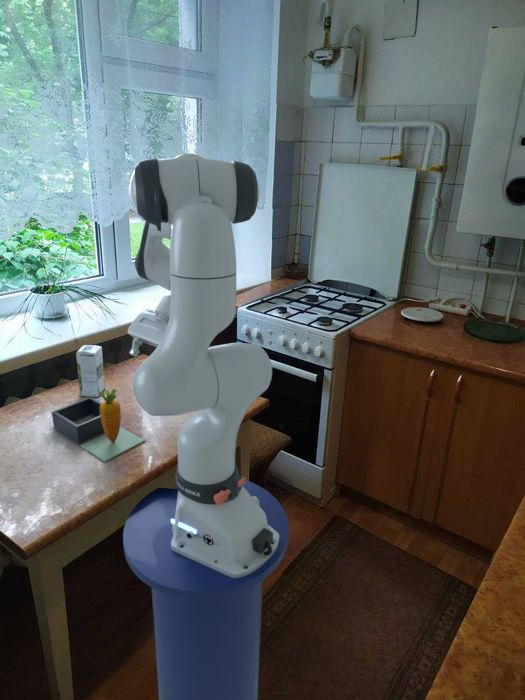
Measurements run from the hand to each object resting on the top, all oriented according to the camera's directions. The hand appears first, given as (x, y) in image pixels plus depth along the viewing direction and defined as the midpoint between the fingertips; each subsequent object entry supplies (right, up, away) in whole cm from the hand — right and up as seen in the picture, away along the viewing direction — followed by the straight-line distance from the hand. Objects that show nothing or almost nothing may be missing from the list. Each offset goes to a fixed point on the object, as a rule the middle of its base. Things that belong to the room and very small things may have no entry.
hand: (144, 360), depth 126 cm
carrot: (-8, -21, -1) cm, 22 cm away
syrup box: (-21, -11, +25) cm, 34 cm away
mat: (-8, -21, -1) cm, 23 cm away
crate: (-17, -18, +6) cm, 26 cm away
